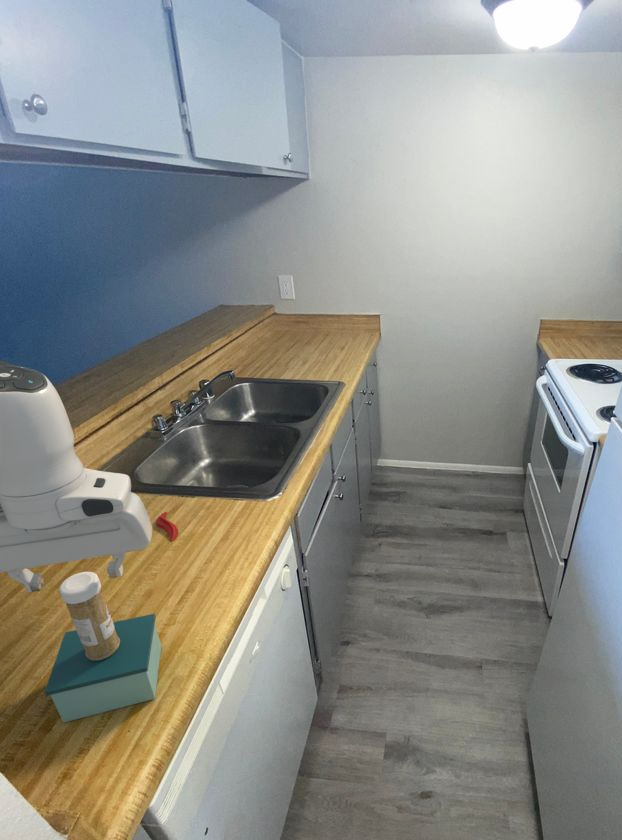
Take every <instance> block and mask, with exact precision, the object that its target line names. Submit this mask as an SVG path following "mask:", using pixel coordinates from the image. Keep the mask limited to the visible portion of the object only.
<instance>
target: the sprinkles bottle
mask: <svg viewBox="0 0 622 840" xmlns="http://www.w3.org/2000/svg"><path fill="white" fill-rule="evenodd" d="M58 590H59V594H60V597H61V599H62V600H63V602H64V604H66V607H67V610H68V611H69V616H70V619H71V621H72V623H73V626H74V628H75V629H74V630H76V631H77V633H78V636H79V638H80V641H81V643H82V644H83V646H84V649H85V651H86V652H85V654H86V657H87V658H88V659H90V660H94V661H98V660H102V659H105V658H108V657H109V656H111V655H112V654H113V653H114V652H115V651H116V650H117V649H118V648H119V645H120V639H119V637H118V636H117V633H116V631H115V628H114V624H113V622H114V621H113V618H112V616H111V613H110V610H109V607H108V604H107V602H106V600H105V598H104V595H103V593H102V584H101V581H100V578H99V576H98V574H97V573H96V572H92V571H82V572H77V573H75V574H73V575H70V576H69V577H67V578H66V579H64V580H63V581H62V582H61V583H60V585H59V589H58Z"/></svg>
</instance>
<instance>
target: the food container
mask: <svg viewBox="0 0 622 840" xmlns="http://www.w3.org/2000/svg"><path fill="white" fill-rule="evenodd" d="M156 616H157V615H156V614H155V613H150V614H146V615H141V616H137V617H131V618H127V619H123V620H117V621H113V624H114V628H115V631H116V633H117V636H118V637H119V639H120V645H119V648H118V649H117V650H116V651H115V652H114V653H113V654H112V655H111V656H109V657H108V658H105V659H102V660H98V661H94V660H90V659H88V658H87V657H86V654H85V652H86V651H85V649H84V646H83V644H82V643H81V641H80V638H79V636H78V633H77V631H76V629H74V630H69V631H65V632H64V635H63V638H62V641H61V644H60V646H59V649H58V652H57V655H56V658H55V661H54V664H53V667H52V670H51V672H50V676H49V678H48V680H47V684H46V687H45V690H44V695H45V696H47V697H48V696H50V697H51V700H52V702H53V704H54V706H55V708H56V710H57V712H58V714H59V717H60V718H61V720H62V722H63V723H68V722H71V721H75V720H79V719H83V718H87V717H91V716H94V715H99V714H103V713H107V712H110V711H113V710H117V709H121V708H126V707H129V706H132V705H136V704H137V705H138V704H140V703H141V704H142V703H144V702H149V701H152V700H155V699H156V693H157V687H158V686H157V685H158V679H159V669H160V663H161V654H162V642H161V639H160V636H159V633H158V630H157V626H156Z"/></svg>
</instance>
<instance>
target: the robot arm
mask: <svg viewBox="0 0 622 840" xmlns="http://www.w3.org/2000/svg"><path fill="white" fill-rule="evenodd" d="M151 522H152V521H151V519H150V516H149V513H148V511H147V508H146V507H145V505H144V502H143V500H142V499H141V498H140V496H139V495H138V494H136V493H135V492H132V480H131V477H130V476H129V475H128V474H125V473H119V472H111V471H103V470H97V469H91V468H86V467H84V464H83V462H82V461H81V459H80V458H79V457H78V455H77V453H76V451H75V435H74V431H73V427H72V424H71V422H70V418H69V416H68V413H67V410H66V408H65V405H64V403H63V401H62V399H61V397H60V394H59V392H58V391H57V389H56V387H55V386H54V385H53V383H52V382H51V381H50V379H49V378H48V377H47V376H46V375H45V374H43V372H41V371H38V370H37V369H33V368H31V367H26V366H21V365H16V364H12V363H9V362H7V361H4V360H2V359H0V574H1V573H6V574H7V575H8V578H11V579H12V580H13V581H16V582H17V583H20V584H21V585H23V586H24V587H25V590H26V592H27V593H29V594H31V593H36V592H40V591H43V589H44V588H43V587H44V586H45V579H44V577H43V573H42V572H39V573H34V572H32V571H31V570H30V569H33V568H39V567H44V566H51V565H57V564H62V563H63V564H64V563H69V562H76V561H82V560H88V559H94V558H100V557H107V556H111V557H112V559H113V560H111V561H109V562H108V566H107V568H106V573H107V574H108V578H109V579H114V578H115V579H116V578H121V577H123V574H124V565H123V562H124V561H125V558H126V555H127V553H132V552H139V551H144V550H145V549H147V547H149V545H150V543H151V542H152V537H153V526H152V523H151Z"/></svg>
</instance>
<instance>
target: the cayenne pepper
mask: <svg viewBox="0 0 622 840" xmlns="http://www.w3.org/2000/svg"><path fill="white" fill-rule="evenodd" d="M167 514H168V511H164V512H163V513H161V514H160V515H159V516H158V517H157V518H156V520H155V523H156V526H157V527H158V528H160V529H161V530H163V531H165V533H166V534H167V535H168V537H169V538H170V542H173V541H175V540H176V539H177V537H178V535H179V529H178V526H176V524H174V522H171V521H170V520H168V519H167V518H166V517H167Z"/></svg>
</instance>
